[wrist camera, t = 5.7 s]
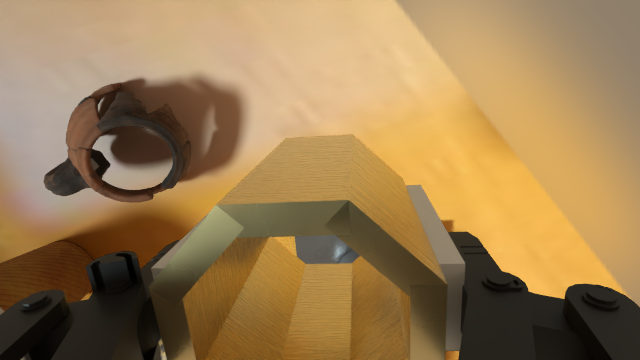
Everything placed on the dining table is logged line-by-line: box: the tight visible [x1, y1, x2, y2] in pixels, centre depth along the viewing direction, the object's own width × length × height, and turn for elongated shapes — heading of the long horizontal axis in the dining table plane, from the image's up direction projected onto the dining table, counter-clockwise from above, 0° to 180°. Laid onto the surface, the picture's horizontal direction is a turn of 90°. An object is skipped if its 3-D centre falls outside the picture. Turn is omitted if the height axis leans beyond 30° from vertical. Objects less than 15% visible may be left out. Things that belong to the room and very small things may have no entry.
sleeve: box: [149, 134, 448, 360], centre depth 12 cm, size 7×7×8 cm
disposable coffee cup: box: [0, 241, 93, 360], centre depth 31 cm, size 10×10×12 cm
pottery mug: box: [44, 83, 191, 202], centre depth 30 cm, size 12×10×8 cm
